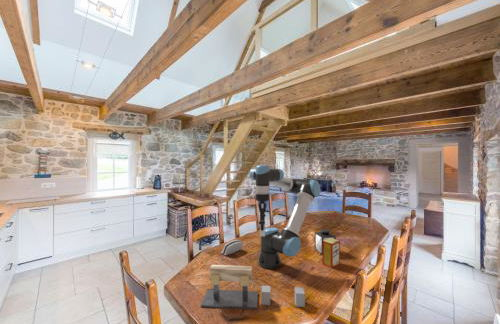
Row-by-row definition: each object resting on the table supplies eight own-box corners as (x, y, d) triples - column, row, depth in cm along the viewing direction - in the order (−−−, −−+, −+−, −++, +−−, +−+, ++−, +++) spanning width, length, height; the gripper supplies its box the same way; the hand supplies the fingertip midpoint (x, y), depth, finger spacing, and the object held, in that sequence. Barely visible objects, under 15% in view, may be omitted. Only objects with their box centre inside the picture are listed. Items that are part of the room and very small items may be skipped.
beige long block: (211, 275, 104) (211, 264, 104) (251, 277, 102) (251, 266, 102) (209, 280, 100) (209, 268, 100) (251, 282, 98) (251, 270, 98)
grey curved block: (237, 247, 165) (240, 236, 163) (241, 251, 162) (244, 240, 159) (220, 253, 153) (223, 242, 151) (224, 257, 150) (227, 246, 148)
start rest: (261, 297, 102) (261, 285, 102) (302, 299, 101) (302, 287, 101) (261, 304, 97) (261, 291, 97) (304, 306, 96) (304, 293, 96)
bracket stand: (207, 291, 108) (207, 264, 108) (257, 293, 106) (258, 266, 106) (200, 306, 96) (201, 277, 96) (257, 309, 94) (257, 279, 94)
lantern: (322, 255, 152) (322, 216, 153) (314, 249, 163) (314, 213, 164) (335, 254, 154) (336, 216, 155) (327, 248, 165) (327, 212, 166)
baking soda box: (331, 268, 133) (331, 243, 133) (322, 264, 138) (322, 240, 138) (339, 264, 138) (339, 240, 138) (330, 260, 143) (330, 237, 144)
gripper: (256, 190, 127) (256, 225, 127) (254, 196, 103) (254, 239, 102) (268, 190, 127) (268, 225, 127) (270, 196, 102) (269, 240, 102)
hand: (262, 232), depth 114 cm, fingers open, 13 cm apart
